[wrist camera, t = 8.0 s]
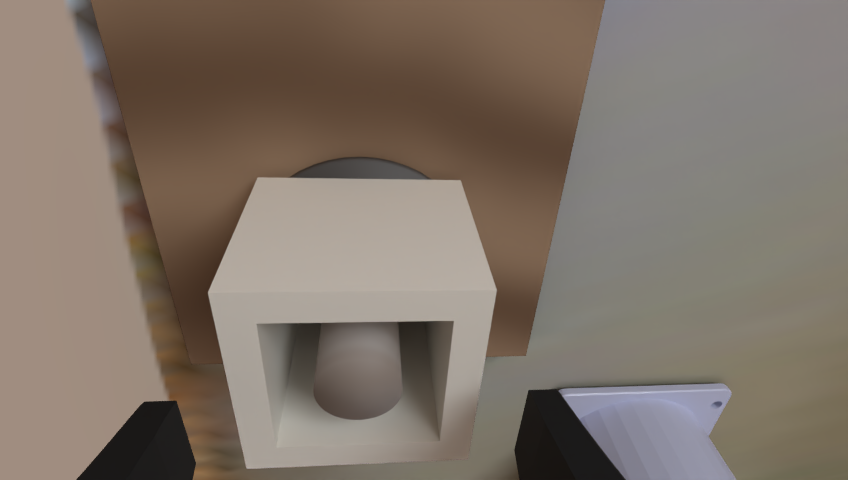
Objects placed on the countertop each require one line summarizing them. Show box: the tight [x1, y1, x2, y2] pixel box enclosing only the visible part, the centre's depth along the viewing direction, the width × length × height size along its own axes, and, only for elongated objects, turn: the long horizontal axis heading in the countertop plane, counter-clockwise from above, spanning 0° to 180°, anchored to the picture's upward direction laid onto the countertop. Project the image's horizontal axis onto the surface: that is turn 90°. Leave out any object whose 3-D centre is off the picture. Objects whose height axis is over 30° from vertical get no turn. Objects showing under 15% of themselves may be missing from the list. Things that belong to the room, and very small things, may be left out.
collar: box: [208, 177, 497, 469], centre depth 14 cm, size 6×6×5 cm
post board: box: [91, 0, 605, 420], centre depth 12 cm, size 18×12×6 cm, turn 177°
